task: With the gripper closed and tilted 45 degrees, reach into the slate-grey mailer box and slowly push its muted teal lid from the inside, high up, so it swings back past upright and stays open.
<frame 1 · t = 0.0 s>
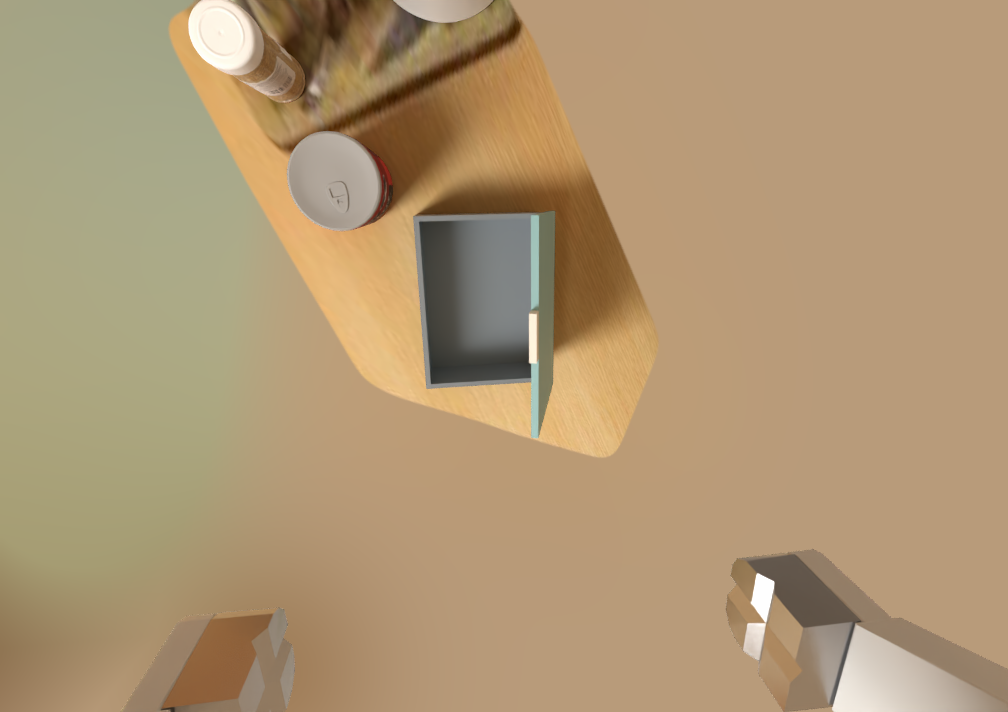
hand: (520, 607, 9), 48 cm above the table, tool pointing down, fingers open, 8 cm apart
sprinkles bottle: (282, 79, 47), on the table
mailer lid: (543, 317, 44), point 13 cm above the table, hinge at 72.0°
mailer box: (479, 294, 55), on the table
canned food: (357, 186, 50), on the table
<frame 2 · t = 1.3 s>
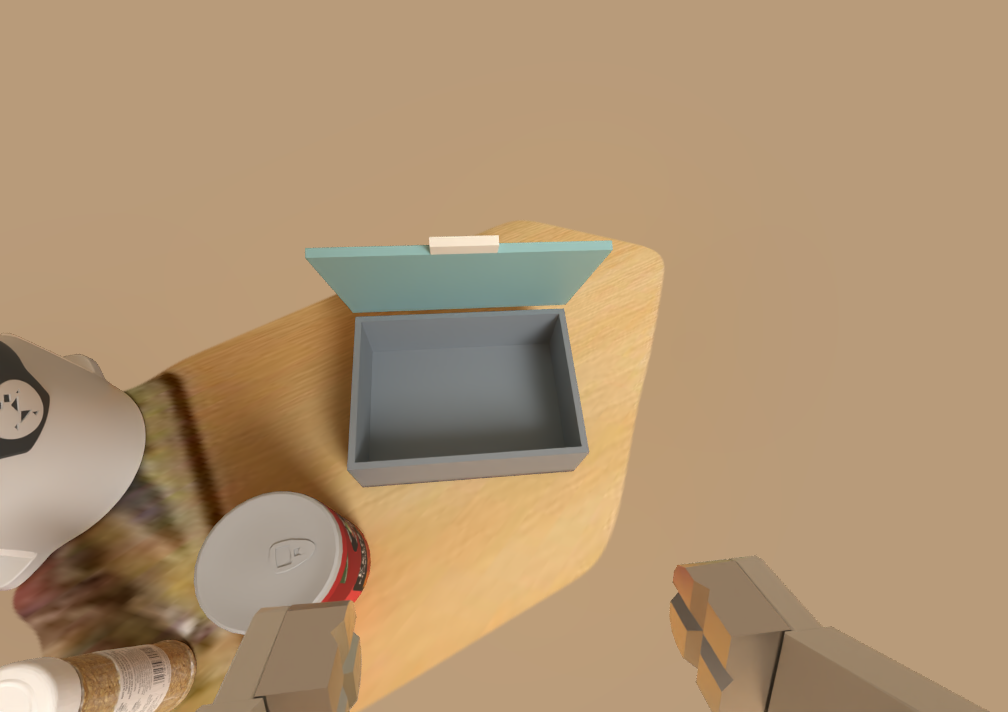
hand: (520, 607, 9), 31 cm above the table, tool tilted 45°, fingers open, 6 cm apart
sprinkles bottle: (166, 676, 33), on the table
mailer lid: (462, 279, 34), point 13 cm above the table, hinge at 72.0°
mailer box: (466, 407, 44), on the table
canned food: (320, 569, 37), on the table
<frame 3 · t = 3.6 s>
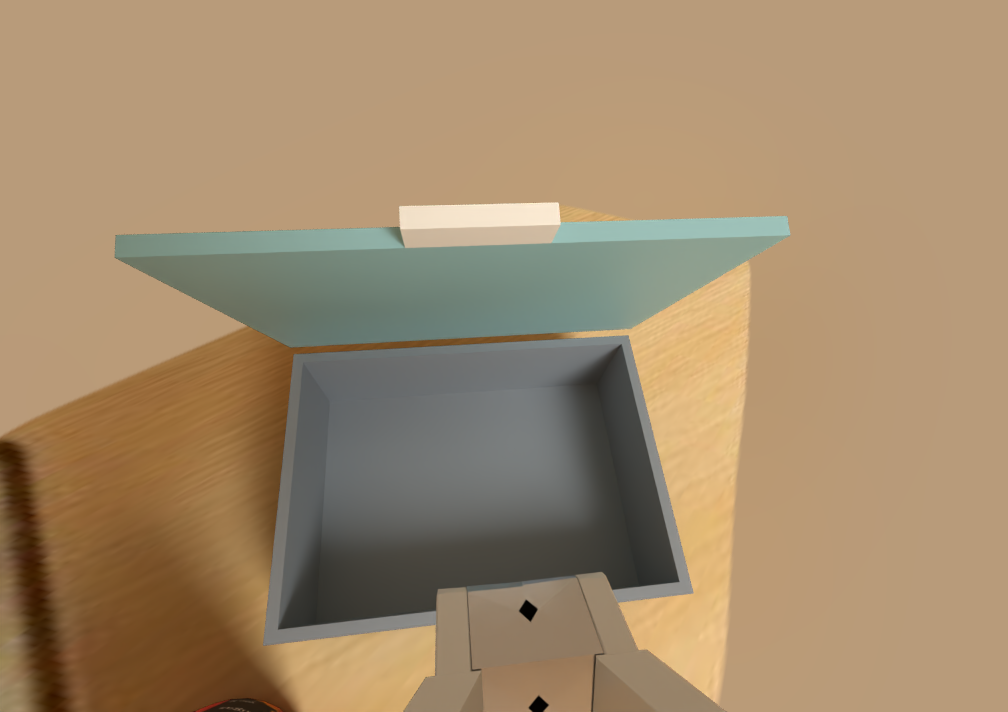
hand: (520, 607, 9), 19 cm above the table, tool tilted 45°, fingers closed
mailer lid: (471, 295, 19), point 13 cm above the table, hinge at 72.0°
mailer box: (474, 489, 28), on the table
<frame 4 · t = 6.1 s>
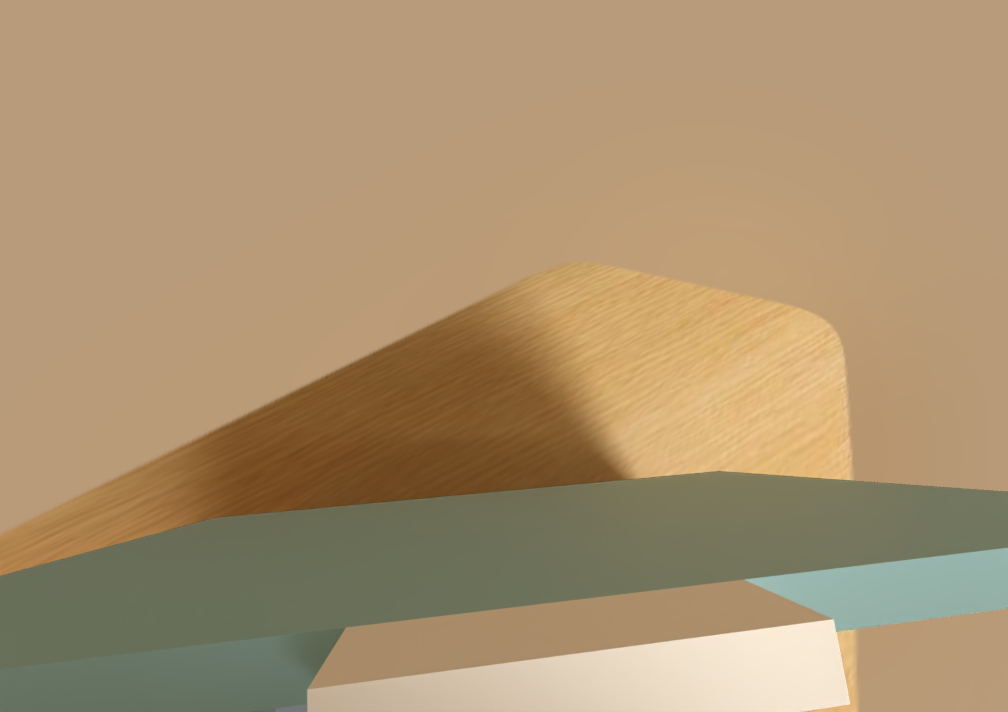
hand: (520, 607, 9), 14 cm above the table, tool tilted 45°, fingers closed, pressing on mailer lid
mailer lid: (501, 534, 10), point 13 cm above the table, hinge at 75.0°, touching gripper
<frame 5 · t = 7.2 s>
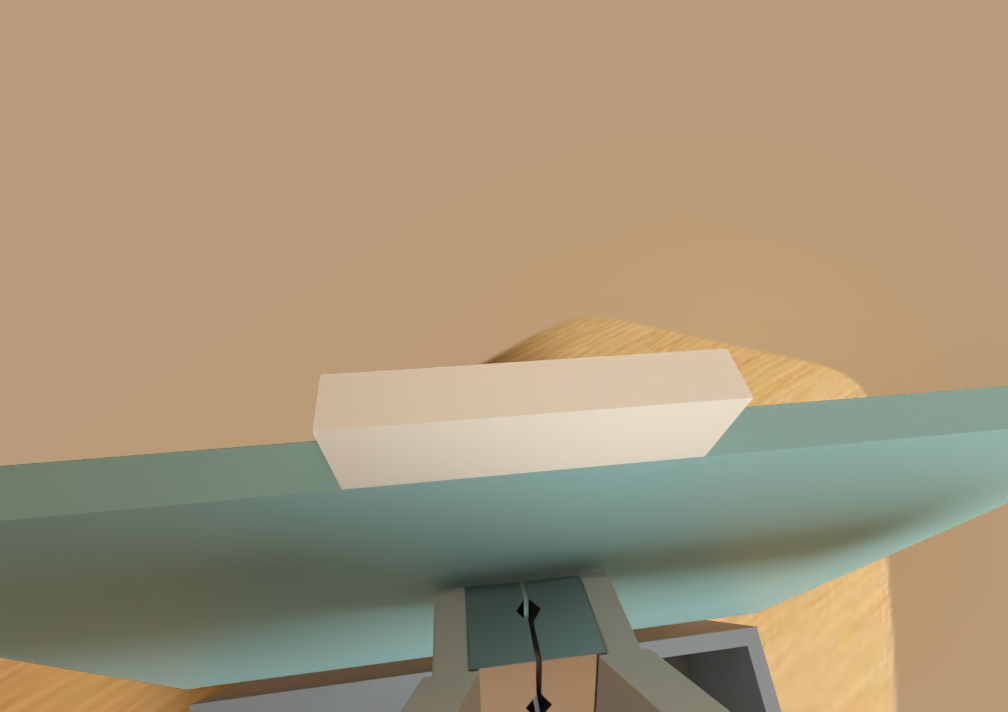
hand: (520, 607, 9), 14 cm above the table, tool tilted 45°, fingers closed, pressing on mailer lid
mailer lid: (501, 581, 10), point 13 cm above the table, hinge at 102.9°, touching gripper
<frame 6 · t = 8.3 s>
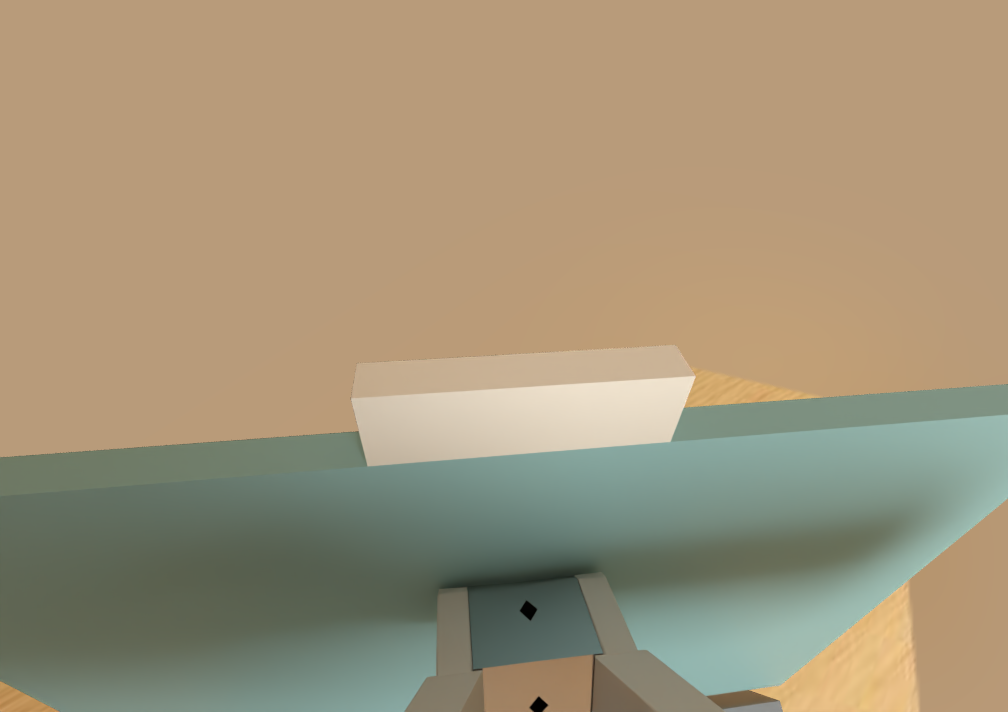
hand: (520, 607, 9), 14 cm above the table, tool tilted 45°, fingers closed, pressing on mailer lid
mailer lid: (507, 618, 10), point 12 cm above the table, hinge at 113.9°, touching gripper
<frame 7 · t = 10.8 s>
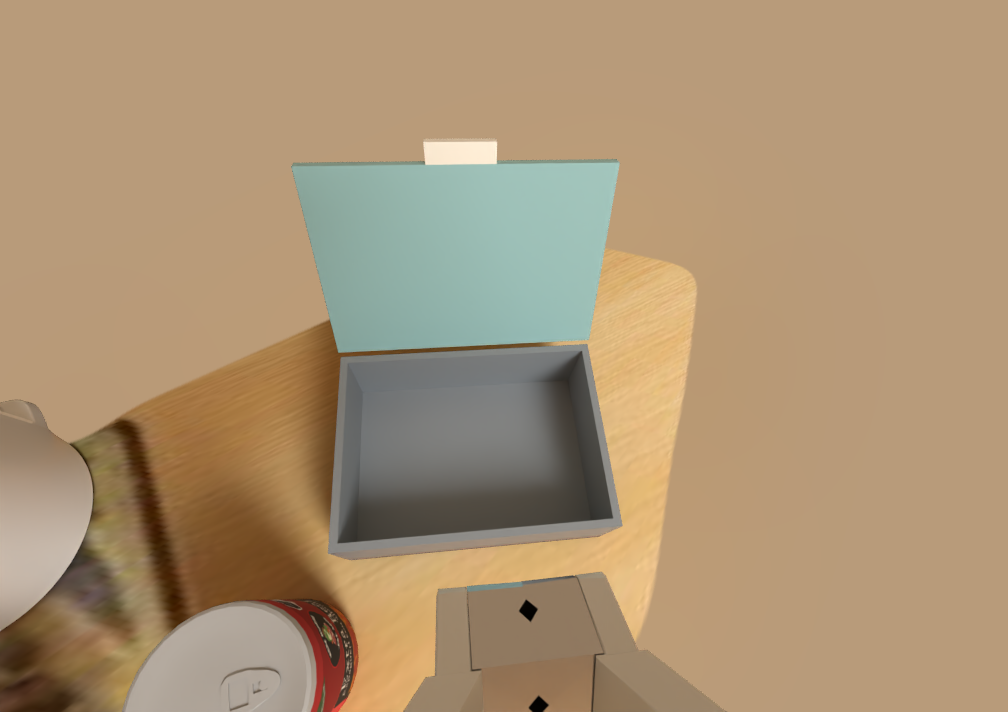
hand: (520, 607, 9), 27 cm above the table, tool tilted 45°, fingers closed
mailer lid: (464, 256, 31), point 12 cm above the table, hinge at 114.0°
mailer box: (472, 459, 37), on the table
canned food: (298, 665, 31), on the table
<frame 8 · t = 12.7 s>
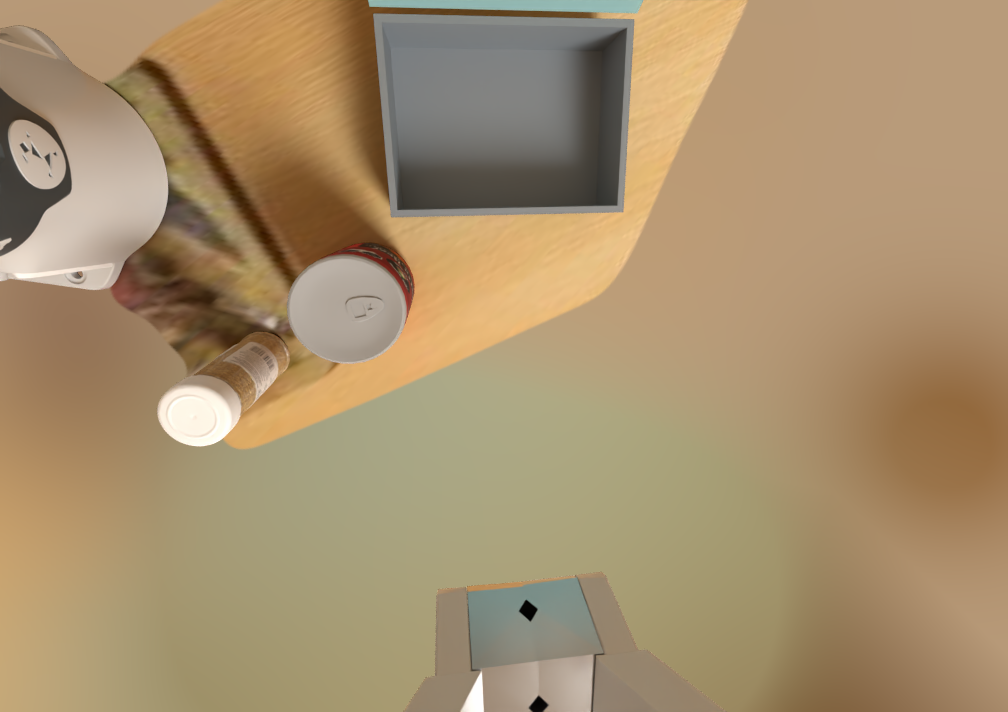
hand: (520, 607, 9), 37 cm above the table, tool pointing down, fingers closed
sprinkles bottle: (266, 353, 44), on the table
mailer box: (499, 132, 40), on the table
canned food: (370, 284, 43), on the table
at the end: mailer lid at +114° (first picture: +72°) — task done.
